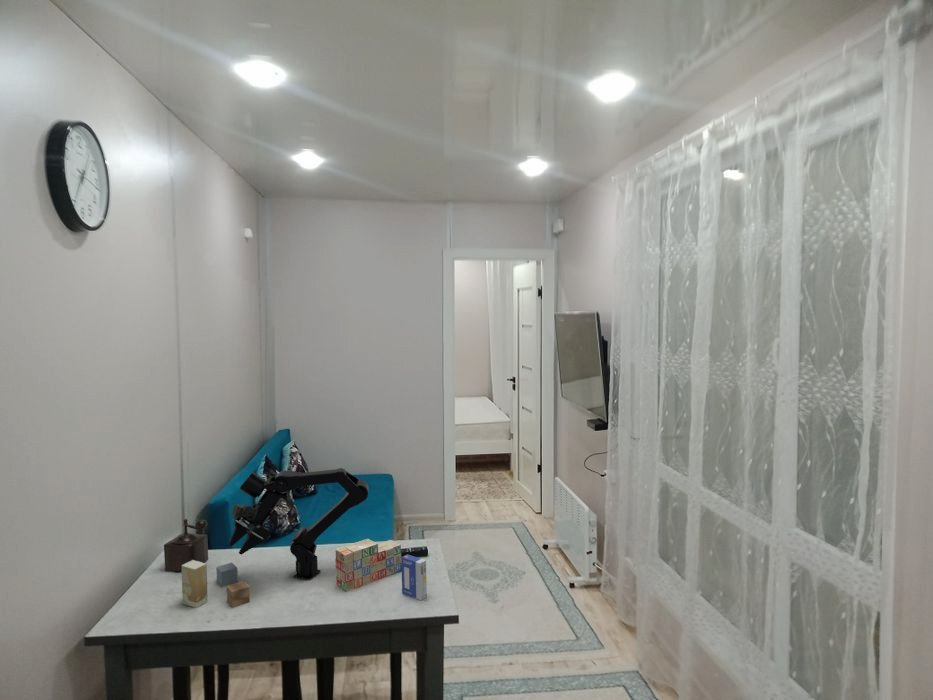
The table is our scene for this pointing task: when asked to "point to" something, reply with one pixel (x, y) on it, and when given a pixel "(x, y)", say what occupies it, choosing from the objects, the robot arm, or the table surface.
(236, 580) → the slate cube
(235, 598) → the walnut cube
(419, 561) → the walkman
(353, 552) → the stack of blocks
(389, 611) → the table surface
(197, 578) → the skincare box
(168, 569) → the manual coffee grinder
